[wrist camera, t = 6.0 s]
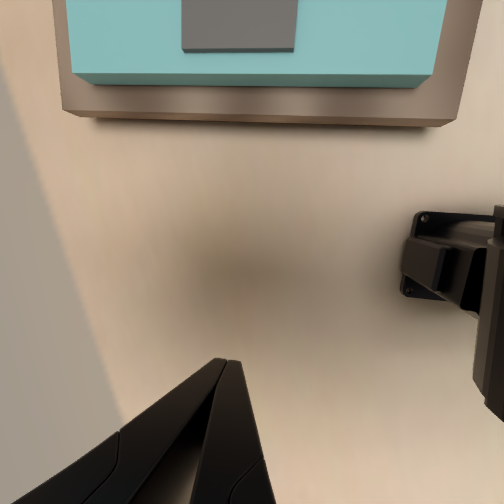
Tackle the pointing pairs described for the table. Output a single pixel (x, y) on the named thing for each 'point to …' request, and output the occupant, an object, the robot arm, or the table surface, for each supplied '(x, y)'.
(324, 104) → the base
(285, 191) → the table surface
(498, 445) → the table surface
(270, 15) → the plate
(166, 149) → the table surface
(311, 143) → the table surface
